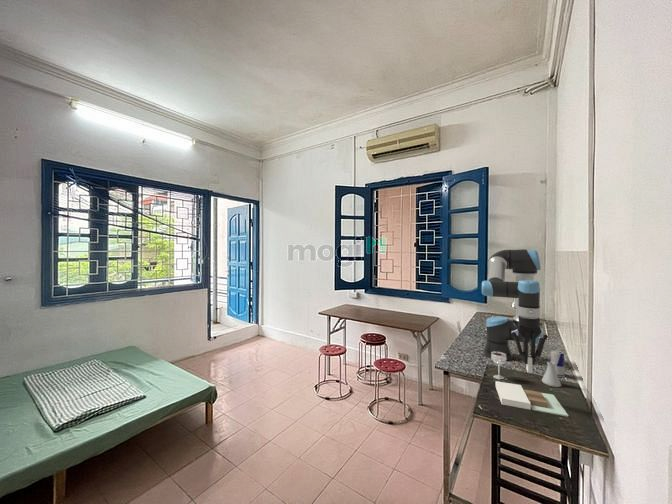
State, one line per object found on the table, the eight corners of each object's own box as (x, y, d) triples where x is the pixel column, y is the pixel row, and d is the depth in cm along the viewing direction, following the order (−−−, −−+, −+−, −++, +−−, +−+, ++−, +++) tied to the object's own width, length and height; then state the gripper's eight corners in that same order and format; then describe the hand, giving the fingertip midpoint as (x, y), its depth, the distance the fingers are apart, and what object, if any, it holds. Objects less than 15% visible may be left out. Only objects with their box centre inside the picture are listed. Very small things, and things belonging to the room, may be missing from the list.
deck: (495, 386, 125) (495, 381, 125) (520, 390, 121) (520, 385, 121) (501, 404, 111) (501, 398, 111) (530, 409, 107) (530, 403, 107)
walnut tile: (524, 393, 118) (524, 389, 118) (540, 396, 115) (540, 392, 115) (529, 404, 109) (529, 399, 109) (547, 407, 107) (547, 402, 107)
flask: (538, 380, 131) (537, 359, 131) (553, 380, 131) (553, 359, 131) (549, 387, 124) (549, 366, 124) (565, 387, 124) (565, 366, 124)
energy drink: (567, 377, 133) (566, 354, 133) (555, 377, 134) (554, 353, 134) (560, 373, 138) (559, 350, 138) (548, 372, 139) (548, 349, 139)
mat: (522, 390, 121) (522, 389, 121) (553, 395, 117) (553, 394, 117) (532, 410, 106) (532, 408, 106) (568, 416, 102) (568, 415, 102)
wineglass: (488, 375, 137) (487, 351, 137) (498, 373, 138) (498, 350, 138) (499, 381, 130) (498, 356, 130) (510, 379, 132) (510, 355, 132)
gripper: (512, 317, 113) (513, 372, 113) (550, 320, 107) (551, 378, 108) (509, 313, 119) (509, 365, 120) (544, 315, 114) (545, 370, 115)
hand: (529, 371), depth 114 cm, fingers closed
